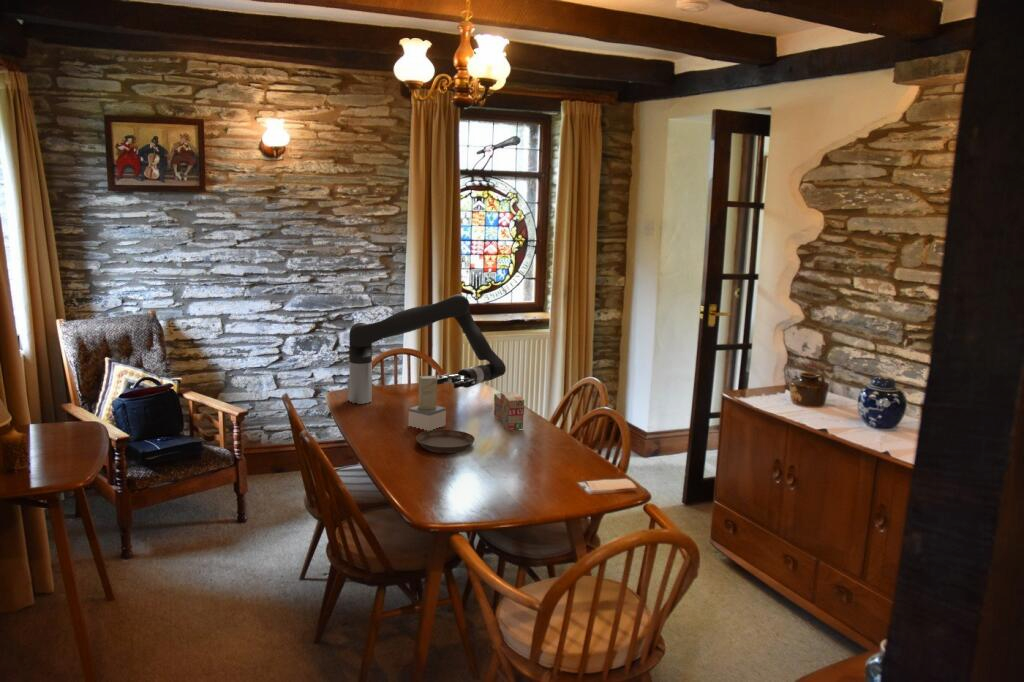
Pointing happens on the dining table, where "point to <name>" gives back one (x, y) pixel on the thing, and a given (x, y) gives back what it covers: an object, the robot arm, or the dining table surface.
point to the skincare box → (427, 392)
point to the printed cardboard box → (509, 410)
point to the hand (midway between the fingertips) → (445, 383)
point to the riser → (427, 418)
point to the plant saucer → (445, 440)
